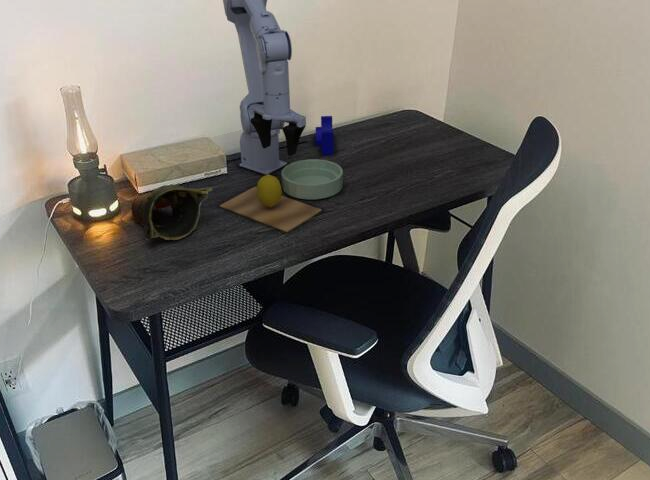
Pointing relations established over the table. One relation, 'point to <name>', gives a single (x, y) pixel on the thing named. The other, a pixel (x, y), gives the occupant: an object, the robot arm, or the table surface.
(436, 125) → the table surface
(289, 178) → the bowl
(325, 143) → the cable clip
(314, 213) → the cork mat
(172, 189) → the pot
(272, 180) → the lemon
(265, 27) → the robot arm
